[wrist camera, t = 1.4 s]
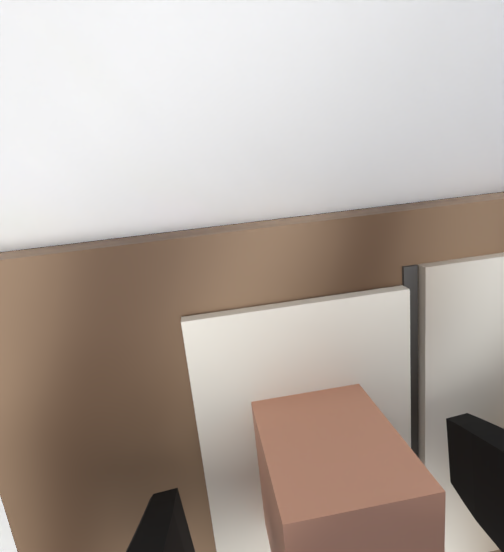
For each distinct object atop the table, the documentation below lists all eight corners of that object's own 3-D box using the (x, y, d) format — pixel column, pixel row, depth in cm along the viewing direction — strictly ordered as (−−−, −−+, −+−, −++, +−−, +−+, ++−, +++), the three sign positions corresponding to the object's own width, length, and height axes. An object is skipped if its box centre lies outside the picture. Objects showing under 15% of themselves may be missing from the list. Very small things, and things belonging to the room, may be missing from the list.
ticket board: (627, 177, 13) (744, 176, 10) (587, 510, 16) (668, 578, 14) (-35, 256, 11) (-113, 284, 8) (69, 623, 14) (38, 732, 11)
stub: (402, 285, 11) (530, 351, 7) (405, 549, 13) (504, 721, 9) (181, 316, 10) (173, 410, 6) (223, 588, 13) (238, 793, 8)
